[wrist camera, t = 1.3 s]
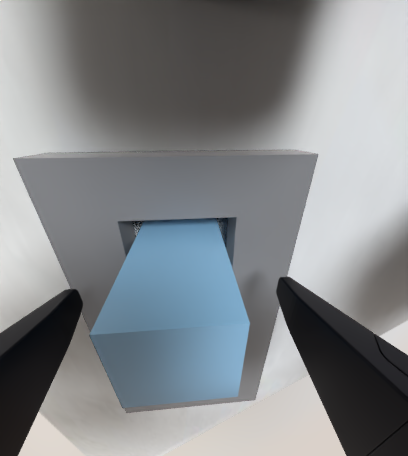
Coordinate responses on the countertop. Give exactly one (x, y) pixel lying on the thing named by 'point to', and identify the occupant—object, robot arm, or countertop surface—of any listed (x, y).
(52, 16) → the countertop surface
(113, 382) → the plug
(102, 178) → the grey board with holes
